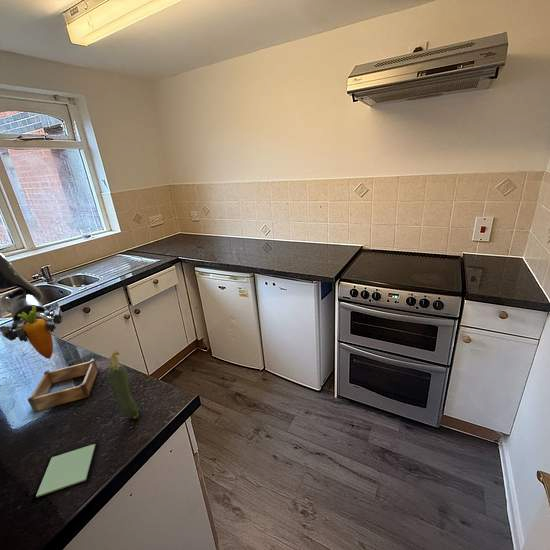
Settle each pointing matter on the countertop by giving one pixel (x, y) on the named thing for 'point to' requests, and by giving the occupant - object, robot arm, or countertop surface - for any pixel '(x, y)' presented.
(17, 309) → the robot arm
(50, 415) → the countertop surface
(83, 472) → the mat
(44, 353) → the carrot
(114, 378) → the vegetable
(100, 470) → the countertop surface
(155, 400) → the countertop surface
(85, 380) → the crate
